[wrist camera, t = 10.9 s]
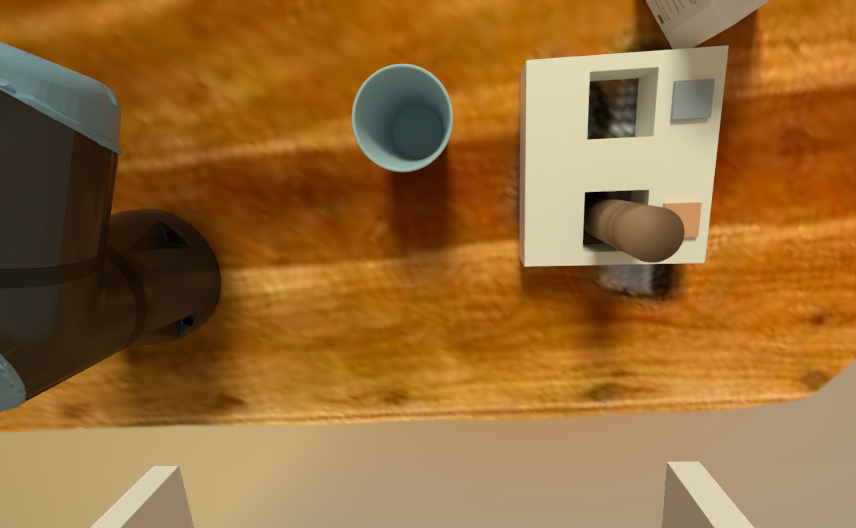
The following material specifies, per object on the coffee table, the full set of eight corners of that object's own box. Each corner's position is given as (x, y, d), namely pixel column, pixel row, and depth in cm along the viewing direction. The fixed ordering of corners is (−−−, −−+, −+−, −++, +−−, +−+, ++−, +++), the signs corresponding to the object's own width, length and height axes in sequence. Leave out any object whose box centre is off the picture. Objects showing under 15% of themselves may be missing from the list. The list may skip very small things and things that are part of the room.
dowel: (578, 237, 40) (623, 263, 29) (580, 197, 40) (627, 208, 28) (619, 236, 40) (681, 262, 28) (622, 196, 39) (687, 205, 28)
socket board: (519, 257, 42) (525, 267, 37) (520, 71, 38) (527, 58, 33) (681, 254, 40) (707, 263, 36) (700, 59, 36) (731, 43, 32)
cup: (465, 100, 39) (463, 74, 29) (448, 179, 41) (440, 181, 30) (389, 84, 39) (361, 54, 29) (375, 163, 41) (345, 160, 31)
